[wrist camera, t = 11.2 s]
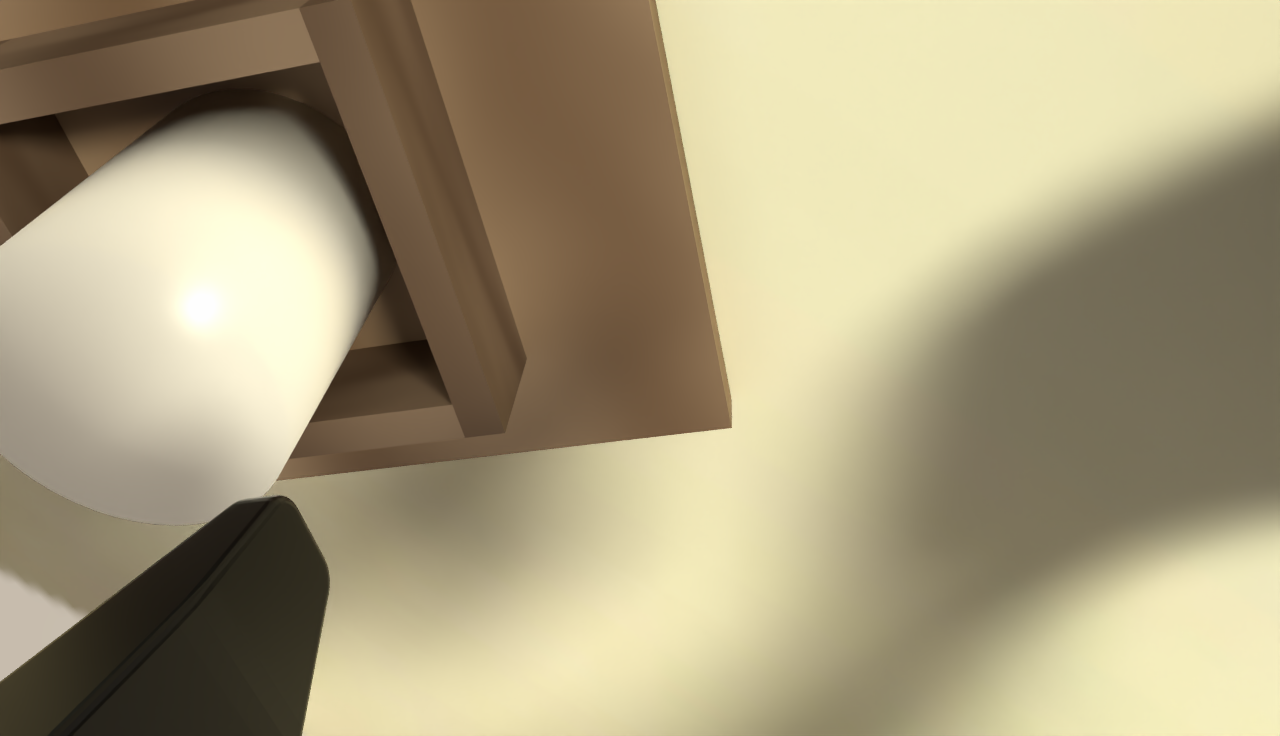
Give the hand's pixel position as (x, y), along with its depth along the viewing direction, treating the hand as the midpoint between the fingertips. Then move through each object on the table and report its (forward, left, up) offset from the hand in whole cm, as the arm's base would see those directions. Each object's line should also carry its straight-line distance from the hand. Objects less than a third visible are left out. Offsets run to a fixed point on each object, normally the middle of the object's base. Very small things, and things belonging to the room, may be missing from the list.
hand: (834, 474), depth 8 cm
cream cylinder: (+10, +2, -11) cm, 15 cm away
